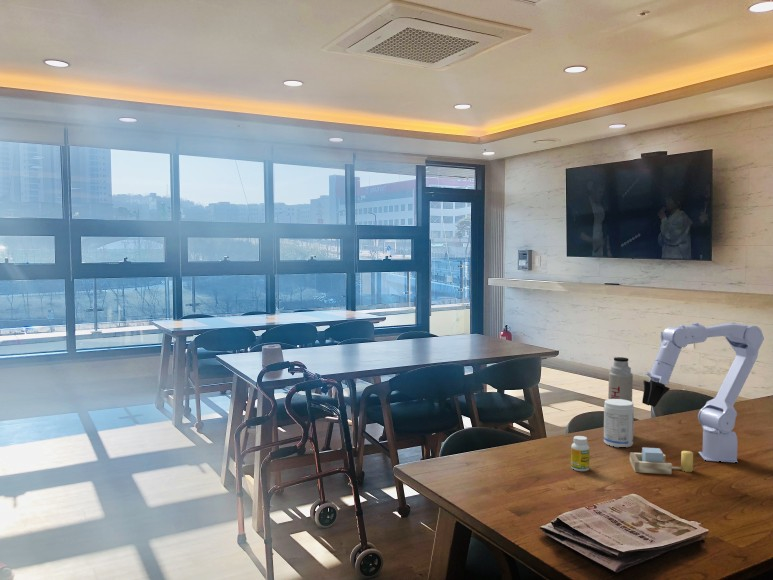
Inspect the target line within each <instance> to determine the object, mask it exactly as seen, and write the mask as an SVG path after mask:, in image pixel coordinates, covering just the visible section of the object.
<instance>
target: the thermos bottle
mask: <svg viewBox="0 0 773 580" xmlns="http://www.w3.org/2000/svg"><path fill="white" fill-rule="evenodd" d="M631 369H632V368H631V367H630V366H629V358H627V357H623V356H622V357H619V356H615V357H613V365H611V366H610V372H609V373H608V399H623V400H628V401H631V402H633V385H634V383H633V380H634V379H633V378H634V377H633V376H634V374H633V373H631V372H632V370H631ZM608 399H607V400H608Z"/></svg>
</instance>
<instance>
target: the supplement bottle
mask: <svg viewBox="0 0 773 580" xmlns="http://www.w3.org/2000/svg"><path fill="white" fill-rule="evenodd" d="M572 441H573V443H571V446H570V457H571V458H570V467H571V469H572V470H573V469H574V470H573V471H576V472H577V471H578V472H587V471H589V470H590V457H591V456H590V450H591V448H590V447H591V446H589V444H588V437H587V436H583V435H575V436H573V440H572Z"/></svg>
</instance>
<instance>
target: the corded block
mask: <svg viewBox="0 0 773 580" xmlns="http://www.w3.org/2000/svg"><path fill="white" fill-rule="evenodd" d="M641 453H642V461H645V462H660V463H663V454H664V453H663V451H662V449H661V448H659V447H658V448H657V447H641ZM680 455H681V456H680V457H681V458H680V466H672V470H679V471H682V472H684V471H685V473H693V472H692V471H694V468H693V467H694V452H692V451H690V450H682V451H681V452H680Z"/></svg>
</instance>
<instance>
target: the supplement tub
mask: <svg viewBox="0 0 773 580" xmlns="http://www.w3.org/2000/svg"><path fill="white" fill-rule="evenodd" d="M603 407H604V408H603V442H604V443H605V444H606V445H607V446H609V445H610V447H613V446H614V447H613V448H619V447H626V448H629V447H632V446H633V444H634V417H635V415H634V412H635V411H634V409H635V406H634V402H633V401H632V402H631V401H628V400H623V399H606V400H604V406H603Z"/></svg>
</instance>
